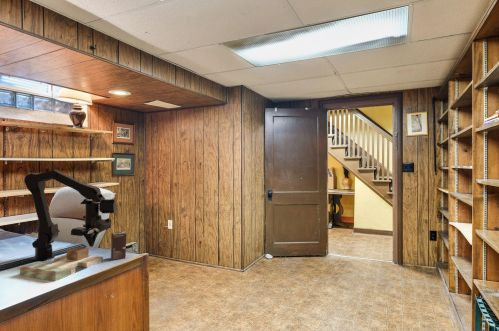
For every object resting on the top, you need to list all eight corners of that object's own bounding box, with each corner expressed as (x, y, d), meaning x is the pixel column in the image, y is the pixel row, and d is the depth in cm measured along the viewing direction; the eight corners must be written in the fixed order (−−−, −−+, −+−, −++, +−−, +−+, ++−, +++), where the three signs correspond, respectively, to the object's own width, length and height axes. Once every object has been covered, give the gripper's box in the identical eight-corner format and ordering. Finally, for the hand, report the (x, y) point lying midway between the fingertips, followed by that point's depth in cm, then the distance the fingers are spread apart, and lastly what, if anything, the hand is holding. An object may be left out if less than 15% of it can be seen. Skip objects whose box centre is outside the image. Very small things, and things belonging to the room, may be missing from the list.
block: (66, 259, 133) (66, 250, 133) (77, 255, 139) (78, 246, 138) (77, 260, 131) (77, 251, 131) (88, 256, 137) (88, 247, 137)
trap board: (19, 275, 119) (19, 266, 119) (71, 256, 142) (71, 249, 142) (55, 281, 114) (55, 271, 114) (102, 261, 137) (102, 253, 137)
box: (112, 260, 138) (112, 234, 138) (110, 257, 142) (111, 232, 142) (126, 258, 142) (126, 232, 142) (124, 255, 146) (124, 231, 145)
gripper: (90, 218, 131) (90, 254, 131) (120, 211, 149) (119, 243, 149) (70, 216, 134) (69, 251, 134) (101, 210, 152) (100, 241, 152)
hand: (91, 246), depth 142 cm, fingers closed
